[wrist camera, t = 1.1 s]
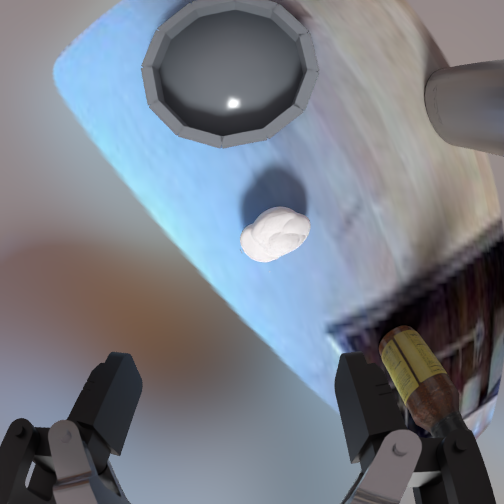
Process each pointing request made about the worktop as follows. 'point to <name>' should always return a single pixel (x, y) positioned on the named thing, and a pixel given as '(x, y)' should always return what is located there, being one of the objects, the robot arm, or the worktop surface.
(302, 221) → the dumpling
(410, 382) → the sauce bottle
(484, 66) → the robot arm
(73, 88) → the worktop surface
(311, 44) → the round dish
